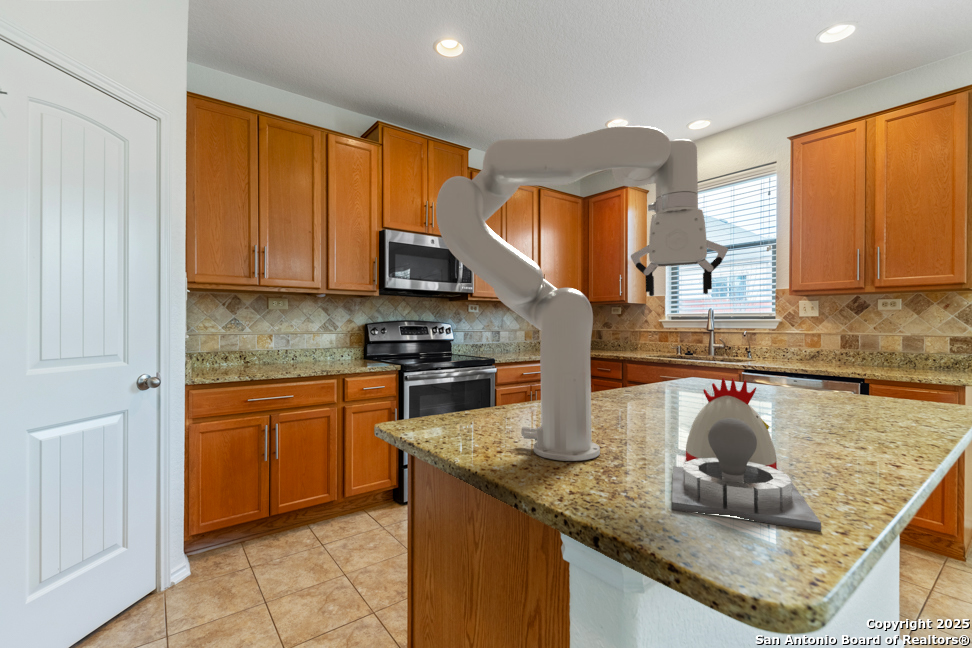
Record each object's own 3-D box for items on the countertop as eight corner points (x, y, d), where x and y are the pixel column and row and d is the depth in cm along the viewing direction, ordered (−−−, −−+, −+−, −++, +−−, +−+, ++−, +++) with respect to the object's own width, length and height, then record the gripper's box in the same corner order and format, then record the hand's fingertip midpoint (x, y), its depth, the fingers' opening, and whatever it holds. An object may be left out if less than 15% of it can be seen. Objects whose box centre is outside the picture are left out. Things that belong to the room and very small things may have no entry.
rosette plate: (672, 509, 57) (671, 483, 57) (673, 472, 72) (672, 451, 72) (821, 531, 51) (820, 501, 51) (789, 485, 66) (788, 461, 66)
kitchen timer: (776, 482, 67) (774, 384, 67) (679, 467, 75) (678, 379, 75) (777, 459, 79) (775, 376, 79) (693, 448, 86) (691, 372, 86)
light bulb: (763, 489, 61) (761, 418, 62) (750, 501, 57) (749, 425, 57) (717, 479, 66) (716, 412, 66) (702, 489, 62) (701, 418, 62)
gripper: (628, 208, 86) (629, 295, 85) (728, 195, 78) (730, 291, 78) (632, 216, 92) (633, 297, 92) (725, 206, 85) (727, 294, 85)
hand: (678, 294), depth 85 cm, fingers open, 9 cm apart
